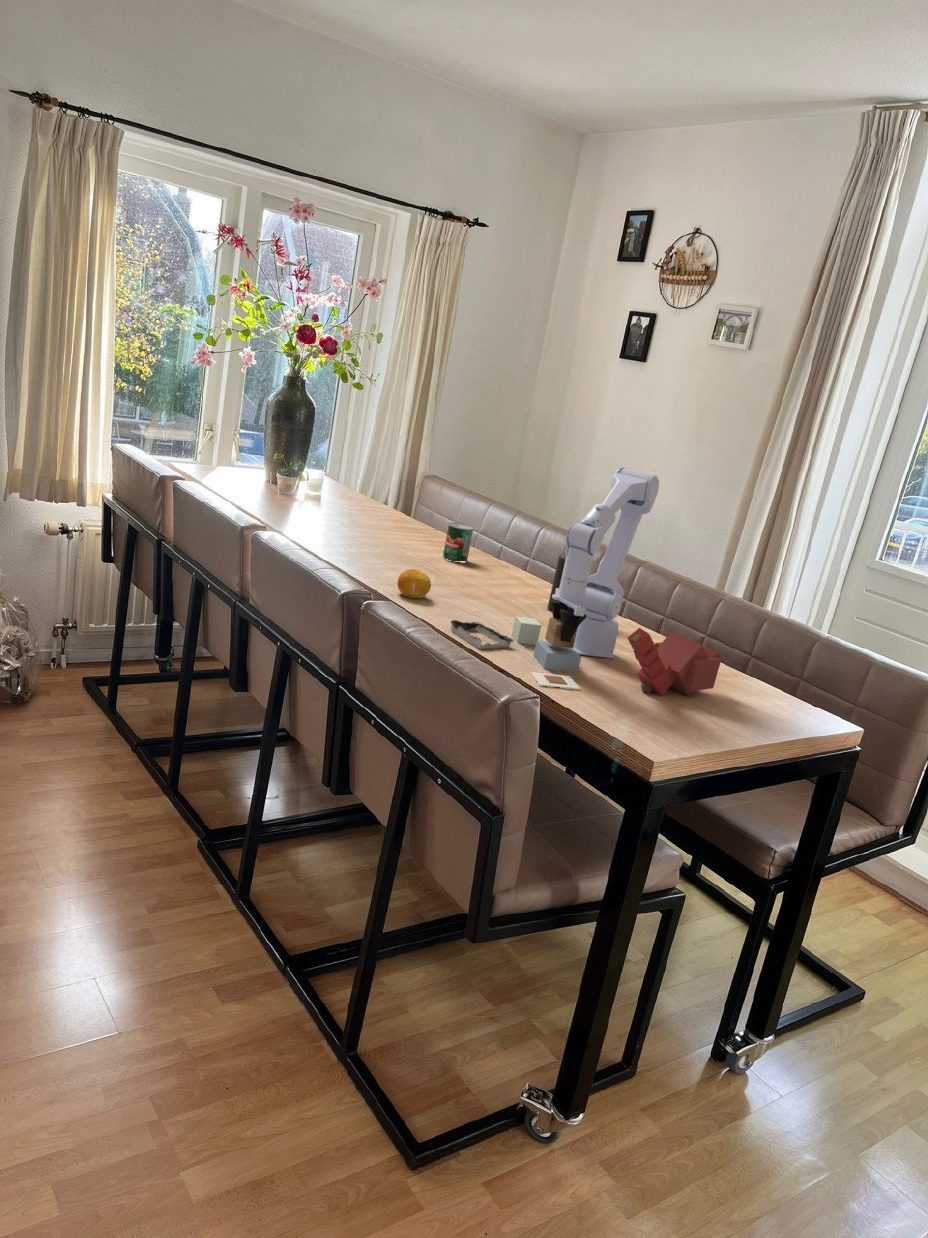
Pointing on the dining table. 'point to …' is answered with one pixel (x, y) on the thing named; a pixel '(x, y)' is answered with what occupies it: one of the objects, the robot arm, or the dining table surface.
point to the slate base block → (556, 657)
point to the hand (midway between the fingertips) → (561, 636)
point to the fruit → (414, 583)
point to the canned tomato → (458, 542)
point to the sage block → (526, 630)
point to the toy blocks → (674, 663)
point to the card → (555, 681)
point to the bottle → (557, 576)
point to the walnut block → (557, 634)
